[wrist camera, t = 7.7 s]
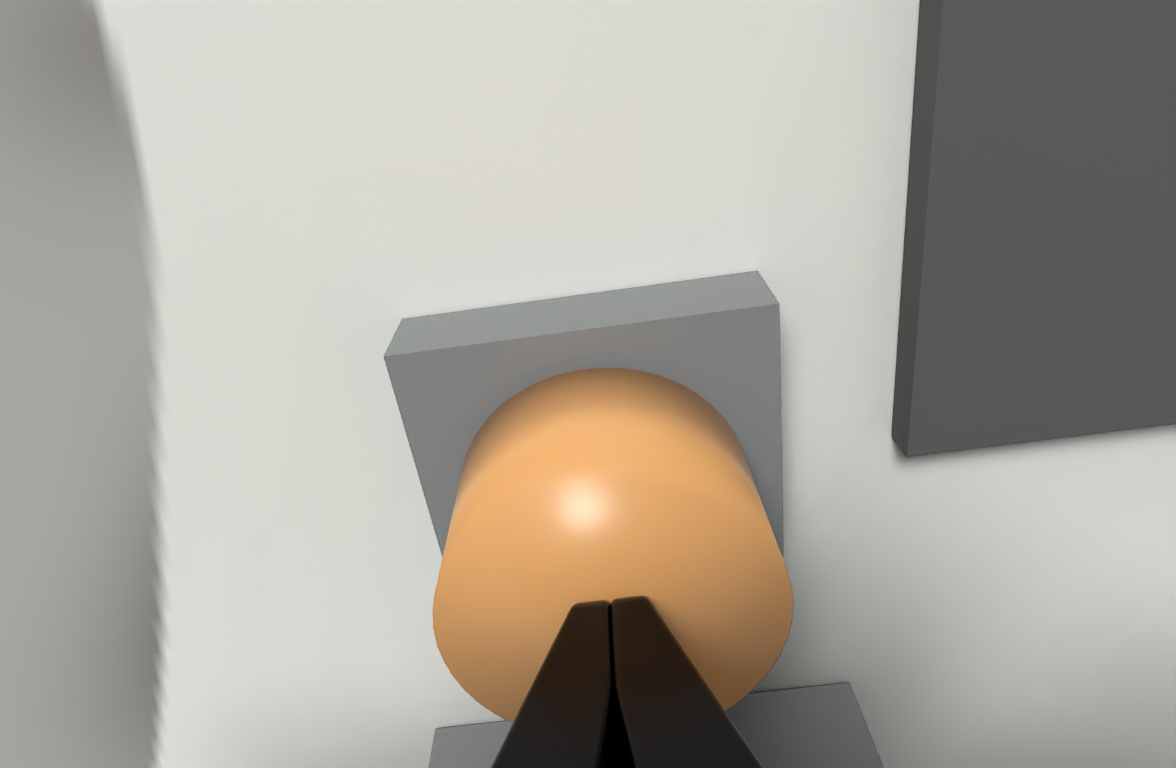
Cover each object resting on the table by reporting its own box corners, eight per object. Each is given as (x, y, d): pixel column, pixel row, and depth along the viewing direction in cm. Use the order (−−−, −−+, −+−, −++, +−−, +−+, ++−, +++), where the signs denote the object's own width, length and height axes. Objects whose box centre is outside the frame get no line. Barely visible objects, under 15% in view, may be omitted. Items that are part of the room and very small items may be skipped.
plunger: (736, 534, 12) (793, 724, 9) (497, 562, 13) (473, 758, 9) (724, 311, 11) (792, 453, 7) (443, 348, 11) (391, 503, 8)
